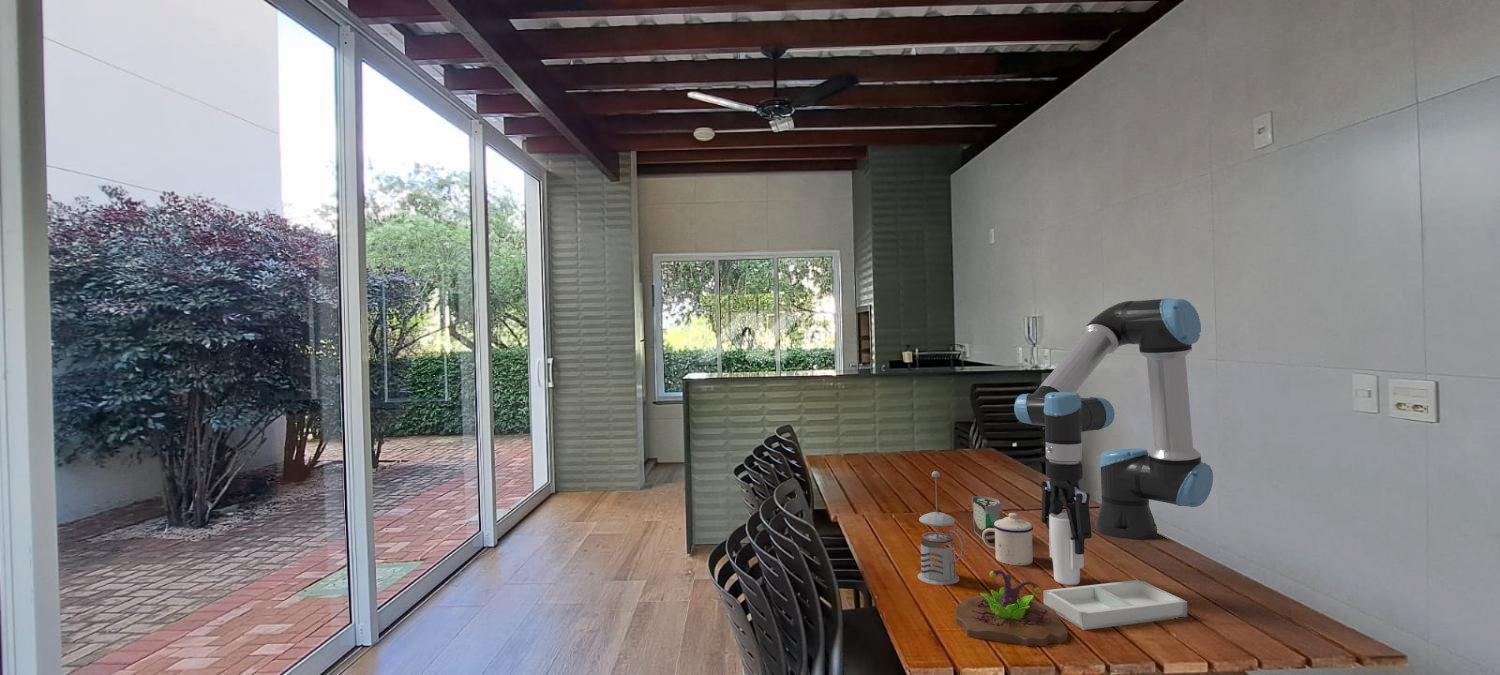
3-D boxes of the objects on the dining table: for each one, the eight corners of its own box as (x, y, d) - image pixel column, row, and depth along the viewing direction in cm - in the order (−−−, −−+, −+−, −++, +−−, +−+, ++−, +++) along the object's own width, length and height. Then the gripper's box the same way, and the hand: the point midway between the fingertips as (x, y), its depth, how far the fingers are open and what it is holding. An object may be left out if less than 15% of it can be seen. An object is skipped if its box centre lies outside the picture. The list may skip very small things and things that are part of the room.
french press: (930, 567, 163) (928, 465, 163) (975, 579, 155) (972, 471, 155) (908, 579, 156) (905, 472, 156) (954, 591, 148) (951, 478, 148)
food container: (1010, 543, 180) (1009, 506, 180) (987, 543, 180) (986, 506, 180) (994, 529, 192) (993, 495, 192) (972, 530, 192) (971, 495, 192)
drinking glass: (1081, 589, 147) (1080, 521, 147) (1048, 584, 150) (1046, 517, 150) (1085, 579, 153) (1083, 514, 152) (1052, 574, 156) (1051, 510, 156)
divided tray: (1140, 596, 142) (1140, 579, 142) (1187, 619, 131) (1186, 601, 131) (1043, 607, 138) (1043, 590, 138) (1083, 632, 126) (1082, 613, 126)
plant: (950, 604, 142) (949, 551, 142) (1049, 609, 138) (1047, 555, 138) (960, 647, 123) (958, 586, 123) (1075, 654, 119) (1073, 591, 119)
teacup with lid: (1036, 557, 168) (1034, 511, 168) (1031, 568, 160) (1029, 520, 160) (986, 550, 174) (985, 506, 174) (979, 561, 166) (978, 514, 166)
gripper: (1023, 454, 160) (1025, 550, 160) (1078, 470, 141) (1081, 579, 141) (1051, 452, 162) (1053, 547, 162) (1109, 467, 142) (1112, 575, 143)
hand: (1066, 562), depth 151 cm, fingers closed on drinking glass, 7 cm apart
